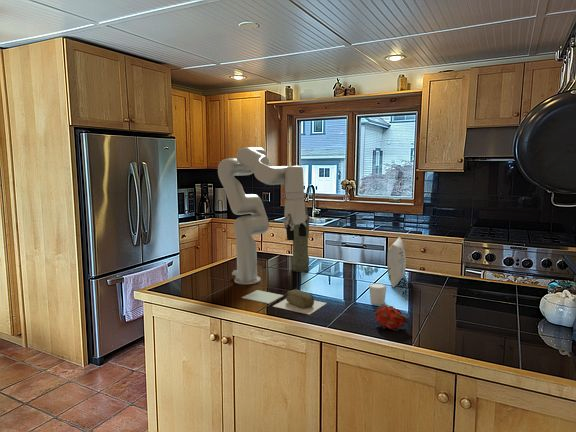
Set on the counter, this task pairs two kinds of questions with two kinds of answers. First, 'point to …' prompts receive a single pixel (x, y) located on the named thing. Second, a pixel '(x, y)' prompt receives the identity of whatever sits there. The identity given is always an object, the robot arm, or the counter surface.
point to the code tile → (289, 306)
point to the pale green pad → (262, 296)
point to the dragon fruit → (390, 317)
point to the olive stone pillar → (300, 248)
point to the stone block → (300, 298)
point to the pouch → (396, 262)
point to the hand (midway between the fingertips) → (296, 238)
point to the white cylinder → (377, 293)
